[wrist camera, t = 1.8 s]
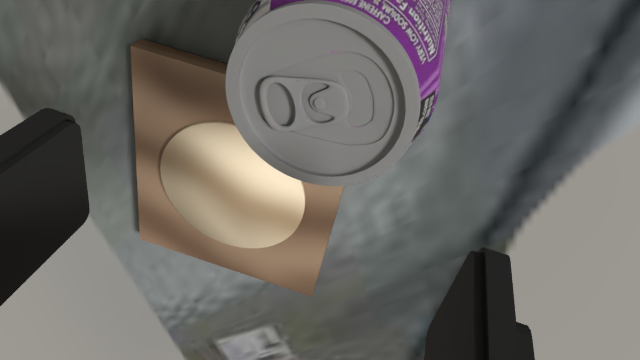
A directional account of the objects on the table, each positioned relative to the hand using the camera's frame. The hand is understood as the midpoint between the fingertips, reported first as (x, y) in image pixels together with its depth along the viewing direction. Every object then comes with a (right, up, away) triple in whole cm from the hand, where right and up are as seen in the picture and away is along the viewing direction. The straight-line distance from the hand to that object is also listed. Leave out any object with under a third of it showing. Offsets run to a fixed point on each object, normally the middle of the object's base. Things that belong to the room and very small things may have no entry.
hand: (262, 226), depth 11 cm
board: (-4, +1, +22) cm, 23 cm away
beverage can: (+4, +10, +13) cm, 17 cm away
